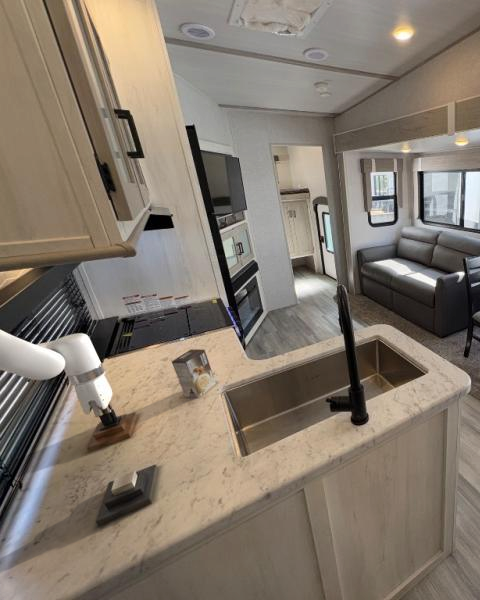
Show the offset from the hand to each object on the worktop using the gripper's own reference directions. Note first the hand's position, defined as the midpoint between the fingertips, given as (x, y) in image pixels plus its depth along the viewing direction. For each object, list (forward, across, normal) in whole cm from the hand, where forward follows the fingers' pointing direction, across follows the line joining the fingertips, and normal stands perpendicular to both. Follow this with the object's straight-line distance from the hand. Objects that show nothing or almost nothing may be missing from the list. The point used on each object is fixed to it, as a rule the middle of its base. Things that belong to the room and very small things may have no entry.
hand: (110, 422), depth 98 cm
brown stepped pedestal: (+4, 0, 0) cm, 5 cm away
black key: (+2, 0, 0) cm, 2 cm away
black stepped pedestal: (+4, +32, +9) cm, 34 cm away
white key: (+1, +32, +9) cm, 33 cm away
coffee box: (+5, -10, +24) cm, 26 cm away
